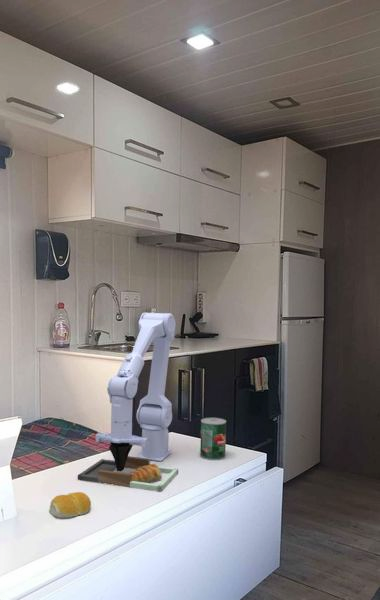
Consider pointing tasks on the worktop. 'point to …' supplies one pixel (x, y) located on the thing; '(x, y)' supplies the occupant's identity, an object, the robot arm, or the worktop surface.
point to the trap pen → (92, 471)
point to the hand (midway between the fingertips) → (120, 470)
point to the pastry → (146, 474)
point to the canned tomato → (213, 438)
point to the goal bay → (157, 487)
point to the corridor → (119, 477)
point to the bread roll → (70, 505)
